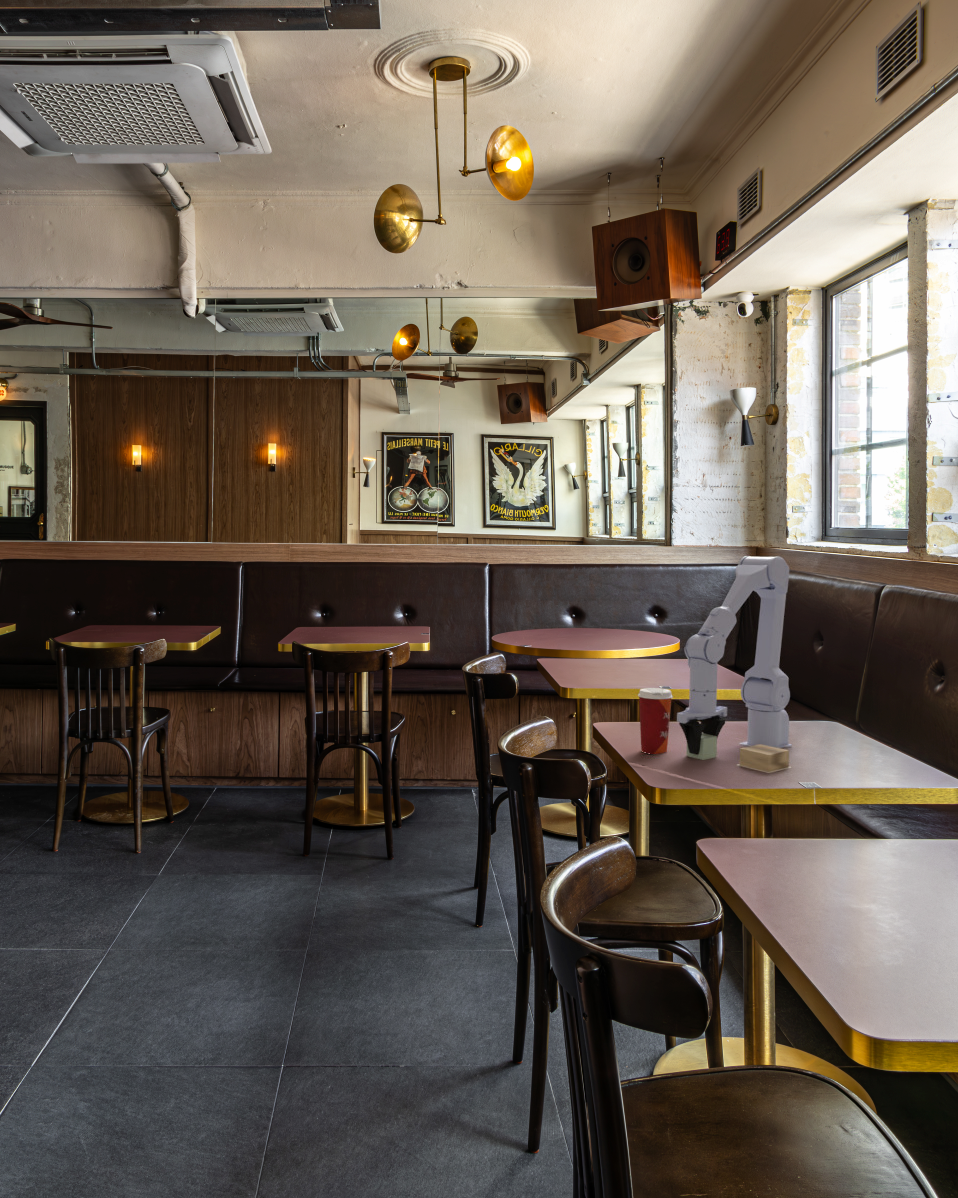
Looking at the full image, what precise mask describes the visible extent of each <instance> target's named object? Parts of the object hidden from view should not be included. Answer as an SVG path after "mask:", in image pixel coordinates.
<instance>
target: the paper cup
mask: <svg viewBox="0 0 958 1198" xmlns="http://www.w3.org/2000/svg"><path fill="white" fill-rule="evenodd" d="M637 697H638V699H639V700H638V701H639V703H638V704H639V728H640V732H639V733H640V750H642V751H643V752H646V753H650V754H656V755H659V754H665V753H667V751H668V745H669V733H670V731H669V730H670V718H671V706H672V698H674V696H673V695H672V691H671V690H670V689H667V688H661V687H660V688H658V687H645V688H640V689H639V693H638V694H637ZM642 751H641V752H642Z"/></svg>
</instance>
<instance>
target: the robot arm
mask: <svg viewBox="0 0 958 1198" xmlns="http://www.w3.org/2000/svg"><path fill="white" fill-rule="evenodd" d="M734 570H735V572H734V573H735V579H734V581H733V583H732V585H731V587H730V588H729V591H728V593H727V595H726V597H725V599H724V600H723V602H722V604H721V606H717V607H715V608H713V609H711V611H710V612H709V615H708V617H707V618H706V619H705V621H704V623H703V625H702V626H701V628H700V629H699V631H698V633H696V634H694V635H692V636H691V637H689V638H688V639H687V641H686V644H685V646H684V651H683V652H684V655H685V657H686V658H687V666H688V668H689V696H688V697H689V699H688V703H689V705H688V707H686V708H685V710H683V711H680V712H677V713H676V723H678V725H679V726H680V728H681V729H682V731H683V734H684V736H685V740H686V745H687V744H688V749H689V753H692V754H696V755H698V754H699V751H700V742H701V736H702V733H704V734H708V735H713V736H717V739H718V738H719V736H720V735H719V734H720V732H721V730H722V729H723V727H724V725H725V724H726V719H725V718H724V717H727V716H728V707H727V706H723V705H722V706H721V705H719V706H717V699H718V697H717V696H718V690H717V688H718V686H717V685H718V662H719V661H720V660H721V659H722V658H723V657H724V654H725V646H726V645H727V641H726V640H727V638H728V637H729V635H730V633H731V631H733V629H734V627H735V625H736V624H737V616H736V614H737V613H738V611H739V610H740V609H741V607H742V606H743V604H744V603H745V602H746V601H747V599H748V598H749V597H750V595H751V594H752V592H753V591H754V592H755V593H757V595H758V596H759V597H760V604H759V605H760V608H759V616H758V625H757V626H758V629H757V635H756V636H757V637H756V649H755V658H754V665H753V666H752V667H751V668H749V669H748V670H747V671H745V673H744V679H743V683H742V685H741V687H740V696H741V697H740V698H741V700H742V701H743V702H744V703H745V707H746V708H747V737H746V739H747V741H742V742H739V743H738V744H739V745H741V746H746V747H749V746H754V745H759V744H762V745H766V746H771V747H776V748H780V749H783V748H785V747H786V748H790V747H792V743H789V736H790V734H789V733H790V717H789V715H788V713H787V711H786V710H785V708H786V706H787V705H788V704H789V702H790V698H791V691H790V688H789V680H790V679H789V677H788V675H787V674H786V673H784V671H782V669H781V668H780V660H781V659H780V657H781V651H782V650H781V648H782V639H783V631H784V630H783V629H784V619H785V617H784V616H785V609H786V601H787V593H788V588H789V579H790V566H789V565H788V563H787V562H786V560H785V558H783V557H782V556H750V555H745V556H743V557H741V559H740V561H739V562H738V564H737V566H736V567H735V569H734Z"/></svg>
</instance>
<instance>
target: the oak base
mask: <svg viewBox="0 0 958 1198" xmlns="http://www.w3.org/2000/svg"><path fill="white" fill-rule="evenodd" d="M789 762H790V750H789V749H783V748H776V747H771V746H766V745H762V744H759V745H754V746H746V747H740V748H739V764H740V765H742V766H746V767H750V768H754V769H758V770H762V771H766V772H771V771H775V770H779V769H783V768H787V767H790V766H789V765H790V763H789ZM742 766H741V767H742ZM746 767H745V768H746ZM750 768H749V769H750ZM754 769H753V770H754ZM758 770H757V771H758ZM762 771H761V772H762ZM766 772H765V773H766Z"/></svg>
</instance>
